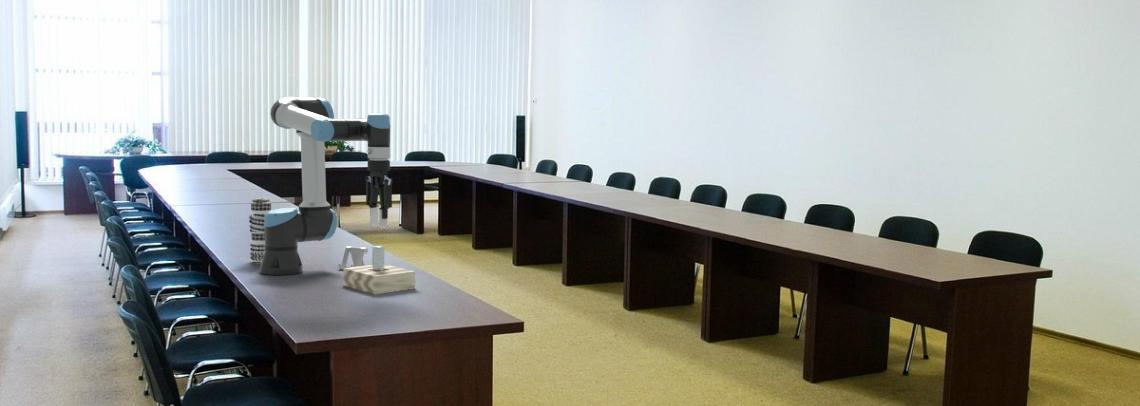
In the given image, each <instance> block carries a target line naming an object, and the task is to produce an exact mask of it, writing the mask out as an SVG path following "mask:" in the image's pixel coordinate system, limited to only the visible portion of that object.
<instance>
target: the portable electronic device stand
mask: <svg viewBox="0 0 1140 406" xmlns="http://www.w3.org/2000/svg"><path fill="white" fill-rule="evenodd" d="M368 252H369V250H368V248H367V247H361V246H360V247H359V246H351V245H350V246H349V245H347V246H346V247H345V250H344V254H343V256H342V262H341V263H338V265H337V266H338V267H337V268H338V270H340V271H343V268H350V267H358V266H365V263H364V256H365V255H366V254H367V253H368ZM349 256H351V260H352V263H353V264H351V265H350V266H347V263H348V259H349Z"/></svg>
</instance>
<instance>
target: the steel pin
mask: <svg viewBox="0 0 1140 406" xmlns="http://www.w3.org/2000/svg"><path fill="white" fill-rule="evenodd" d="M384 264H385V246H384V245H373V246H372V265H373V271H375V272H379V271H384Z"/></svg>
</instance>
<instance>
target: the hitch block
mask: <svg viewBox="0 0 1140 406" xmlns="http://www.w3.org/2000/svg"><path fill="white" fill-rule="evenodd" d="M349 267H350V268H343V270H342V285H343V286H344V287H348V288H350V289H355V290H358V291H361V292H366V293H369V294H372V295H379V294H380V295H381V294H386V293H387V294H388V293H395V292H401V290H402V291H408V289H409V290H414V288H415V289H416V271H415V270H411V269H407V268H402V267H399V266H393V265H390V264H386V263H384V271H379V272H375V271H373V264H370V265H369V264H368V265H364V266H358V267H351V266H349ZM394 291H395V292H394Z"/></svg>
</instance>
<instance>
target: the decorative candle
mask: <svg viewBox="0 0 1140 406" xmlns="http://www.w3.org/2000/svg"><path fill="white" fill-rule="evenodd" d="M271 210H272V201H271V200H270V199H269V198H267V197H256V198H253V199H252V200H251V201H250V215H249V216H248V219H249V221H248V223H250V225H249V228H250V229H249V233H251V238H250V244H249V246H250V251H251V252H250V253H249V254H250V257H249V258H250V259H251V260H250V263H252V262H262V259H263V256H264V253H265V233H264V220H265V214H266V213H267V212H269V211H271Z"/></svg>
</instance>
